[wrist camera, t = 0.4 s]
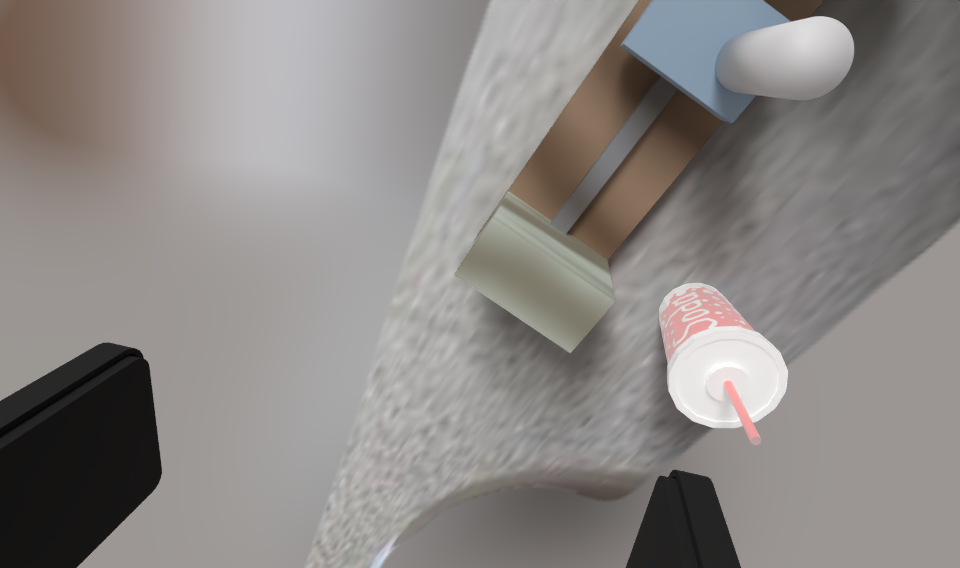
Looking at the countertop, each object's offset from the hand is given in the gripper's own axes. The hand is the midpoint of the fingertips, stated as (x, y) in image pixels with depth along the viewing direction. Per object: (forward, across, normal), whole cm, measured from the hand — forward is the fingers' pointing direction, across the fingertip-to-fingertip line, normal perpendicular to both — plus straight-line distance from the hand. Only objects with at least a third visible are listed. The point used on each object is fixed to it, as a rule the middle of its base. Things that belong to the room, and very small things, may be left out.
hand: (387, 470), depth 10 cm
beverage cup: (+29, -13, +7) cm, 32 cm away
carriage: (+26, -8, -9) cm, 29 cm away
